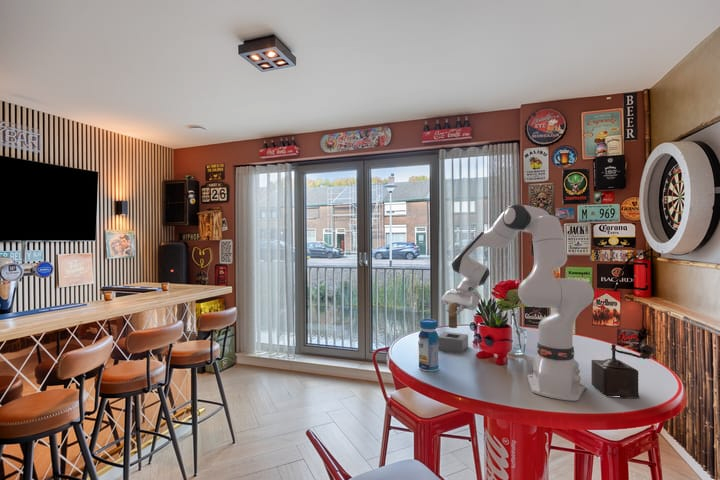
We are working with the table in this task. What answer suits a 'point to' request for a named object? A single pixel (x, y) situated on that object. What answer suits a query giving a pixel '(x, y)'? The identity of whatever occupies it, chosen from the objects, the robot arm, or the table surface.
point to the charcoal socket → (453, 342)
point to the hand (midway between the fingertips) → (451, 312)
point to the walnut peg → (452, 315)
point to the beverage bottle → (428, 345)
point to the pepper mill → (618, 374)
